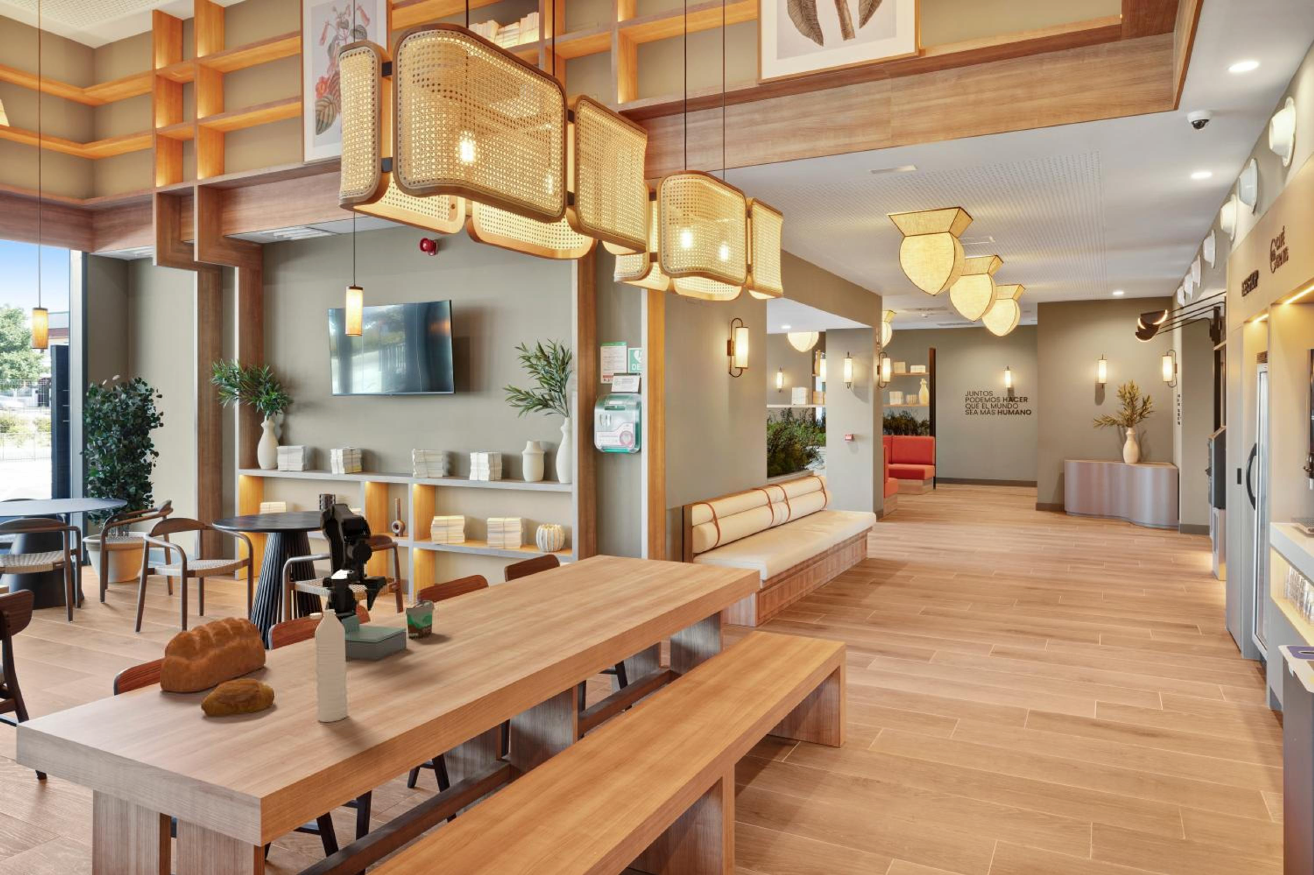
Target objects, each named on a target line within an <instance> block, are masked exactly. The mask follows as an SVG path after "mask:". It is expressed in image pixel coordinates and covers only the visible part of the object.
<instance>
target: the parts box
mask: <svg viewBox="0 0 1314 875" xmlns="http://www.w3.org/2000/svg"><path fill="white" fill-rule="evenodd" d="M407 644H408V642H407V631H404V632H402V633H399V634H397V635H394V636H392V637H389V638H387V639H384V640H382V641H379V642H377V643H375V642H362V641H349V640H345V655H346V656H345V658H346V659H348V660H349V659H350V660H359V661H371V662H374V661H375V662H378V661H381V660H382V659H384V658H387V657H390V656H391V655H394V654H396V653H399V652H401V651H403V650H406V649H407V647H408V645H407Z"/></svg>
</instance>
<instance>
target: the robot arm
mask: <svg viewBox="0 0 1314 875" xmlns="http://www.w3.org/2000/svg"><path fill="white" fill-rule="evenodd" d="M320 515H321V516H320V518H319V526H320V529H321V531H322V536H323V537H324V538H325V539H326V541H327V542H328V549H329V550H328V551H329V562H330V571H331V572H330V573H331V575H328V576H325V577H324V578H323V579H322V581H321V583H322V584H321V587H322V588H325V589H326V591H329V592H328V595H327V601H326V604H325V608H324V611H325V610H329V609H334V610H335V613H336V614H335V616H336V617H337V619H338V620H339V621H340V622H341V624H342V621H341V620H342V619H345V618H348V617H351V616H354V615H357V608H358V607H357V606H358V601H357V600H356V597H355V595H354V591H353V589H352V588H350V585H351V586H353V585H354V586H364V587H365V589H364V592H365V594H366V609H367V610H366V611H367V612H371V611H372V608H373V606H374V604H375V601H376V598H377V597H378V595H379V593H380V591H381V590H383V589H384V587H386V586H388V579H387V578H386V576H383V575H382V576H380V575H374V576H370V577H368V573H366V572H365V565H366V564H368V562H369V560H371V558H372V556H373V549H372V547H371V545H369V544H367V543H366V541H368V540H371V535H372V532H371V528H370V524H369V523H368V521H367V519H366V518H365V517H364V516H363V515H361V514H355V513H353V511H352V510H351V509H350V508H349V506H348V503H345V502H343V503H342V502H341V503H340V502H339V503H332V504H330V505H329V508H328V509H326V510H325V511H323V512H322V513H321V514H320Z"/></svg>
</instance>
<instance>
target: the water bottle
mask: <svg viewBox="0 0 1314 875" xmlns="http://www.w3.org/2000/svg"><path fill="white" fill-rule="evenodd" d="M335 614H336V613H335V610H334V609H329V610H325V609H324V611H323V614H322V612H313V613H310V614H309V619H310V620H320V619H321V620H320V622H319V624H318V625H317V627H316V629H315V631H314V642H315V645H314V646H315V674H316V676H315V677H316V678H315V682H316V698H317V700H316V707H317V709H316V713H317V714H316V718H317V721H320V722H323V723H326V722H327V723H330V722H331V723H332V722H335V721H336V722H337V721H342V720H343V719H345V718H347V716H348V697H347V694H348V692H347V691H348V689H347V661H346V659H347V658H345V656H346V655H345V629H344V627H343V625H342V624H341V622H340V621H339V620H338V619H337V617H336V616H335Z"/></svg>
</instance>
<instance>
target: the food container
mask: <svg viewBox="0 0 1314 875" xmlns="http://www.w3.org/2000/svg"><path fill="white" fill-rule="evenodd" d="M435 609H436V607H435V604H434V602H433V601H432V600H427V599H423V600H422V603H420V604H415V605H413V607H405V615H406V619H407V620H406V621H407V622H406V623H407V624H406V625H407V633H408V634H407V635H408V639H414V640H415V639H422V638H423V639H424V638H427V637H429V636H432V633H433V613H434V612H433V611H435Z"/></svg>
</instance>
